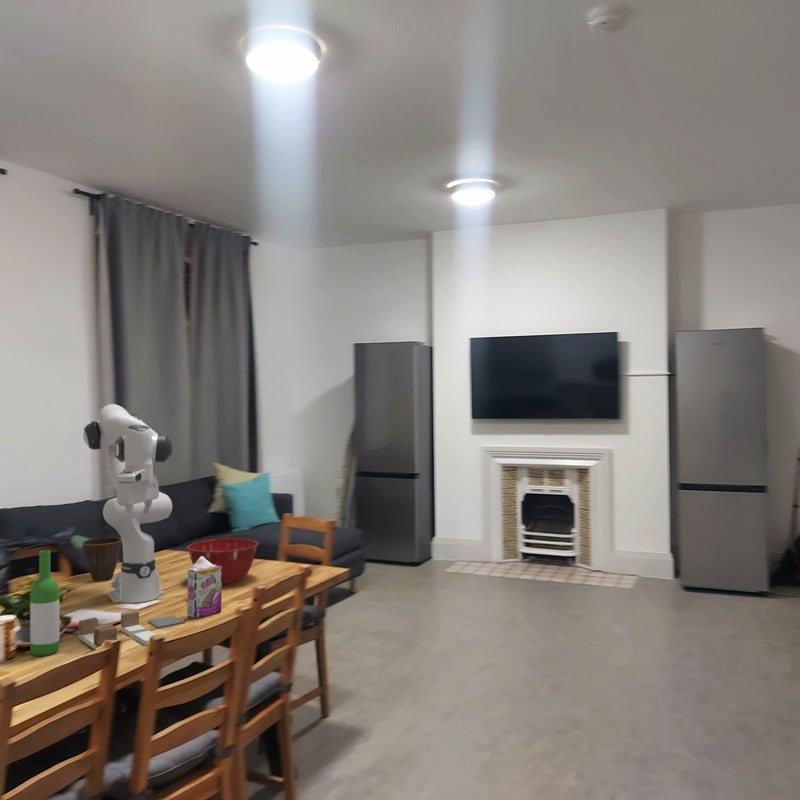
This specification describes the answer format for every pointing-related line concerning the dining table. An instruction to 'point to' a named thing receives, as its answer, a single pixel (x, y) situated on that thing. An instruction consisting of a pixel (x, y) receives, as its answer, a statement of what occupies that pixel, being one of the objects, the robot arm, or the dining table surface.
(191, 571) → the candy bar box
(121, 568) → the robot arm
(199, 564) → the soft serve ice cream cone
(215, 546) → the mixing bowl
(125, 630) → the strip broken
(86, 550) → the plant pot
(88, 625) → the strip
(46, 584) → the wine bottle
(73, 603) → the dining table surface
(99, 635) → the cube
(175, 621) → the coaster
